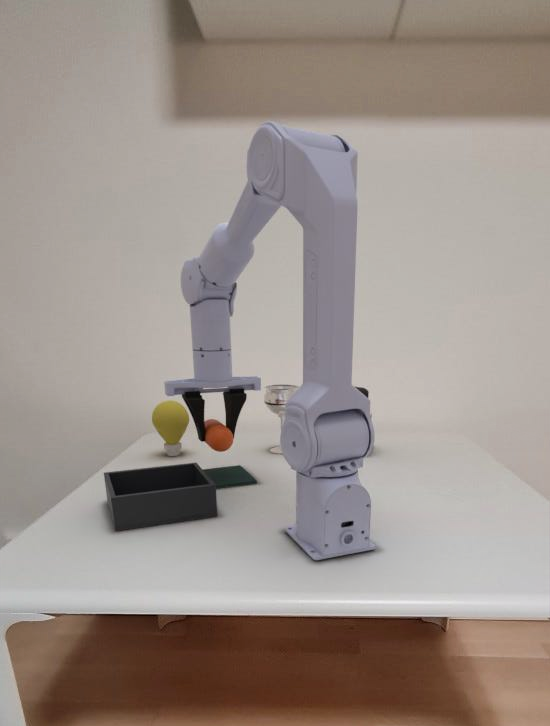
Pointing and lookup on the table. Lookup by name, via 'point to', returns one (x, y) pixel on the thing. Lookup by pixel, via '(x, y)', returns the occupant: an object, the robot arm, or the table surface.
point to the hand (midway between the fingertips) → (216, 438)
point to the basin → (159, 495)
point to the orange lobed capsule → (218, 435)
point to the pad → (230, 476)
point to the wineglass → (278, 402)
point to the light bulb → (171, 424)
